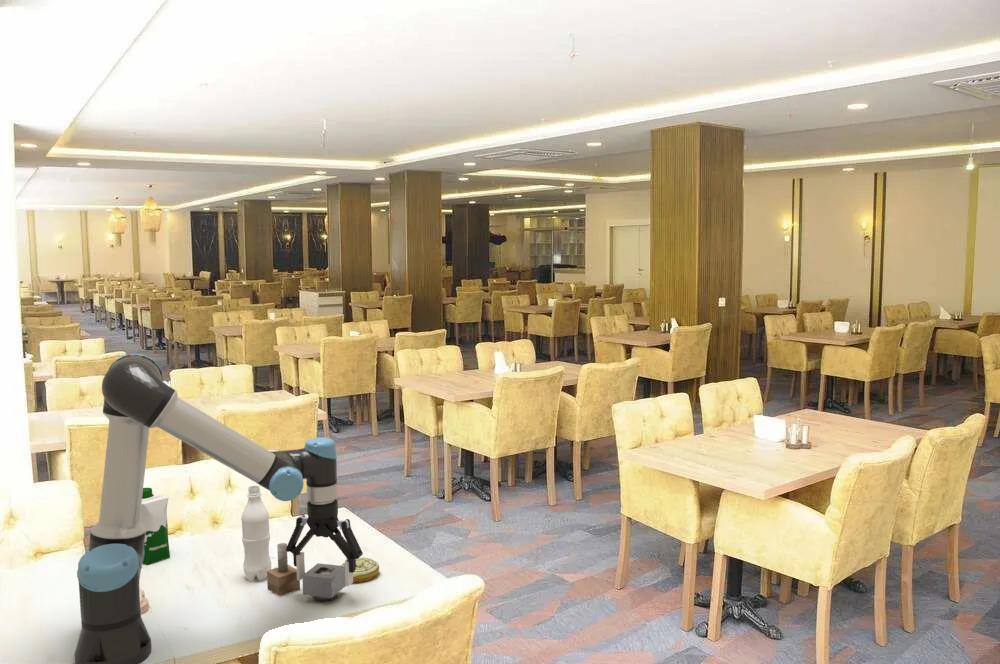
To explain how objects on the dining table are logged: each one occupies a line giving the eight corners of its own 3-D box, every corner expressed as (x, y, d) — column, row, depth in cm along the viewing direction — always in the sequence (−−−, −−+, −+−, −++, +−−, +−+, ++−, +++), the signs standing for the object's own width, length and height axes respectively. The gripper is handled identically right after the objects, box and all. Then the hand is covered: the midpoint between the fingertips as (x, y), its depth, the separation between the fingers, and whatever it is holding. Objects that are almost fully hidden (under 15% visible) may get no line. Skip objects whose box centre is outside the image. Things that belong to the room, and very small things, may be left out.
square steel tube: (346, 585, 208) (346, 566, 207) (331, 598, 200) (331, 578, 200) (318, 581, 210) (317, 563, 209) (303, 594, 202) (302, 575, 202)
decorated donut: (332, 575, 219) (331, 562, 219) (366, 565, 226) (366, 552, 226) (350, 587, 211) (349, 574, 211) (386, 577, 218) (385, 563, 218)
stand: (279, 596, 206) (277, 550, 205) (267, 589, 210) (265, 544, 209) (300, 589, 210) (298, 544, 209) (288, 582, 215) (286, 538, 213)
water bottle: (263, 583, 214) (259, 491, 211) (238, 581, 215) (234, 490, 213) (276, 572, 221) (272, 483, 218) (252, 571, 222) (248, 482, 220)
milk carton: (158, 550, 238) (154, 484, 236) (175, 557, 233) (171, 489, 231) (129, 559, 231) (125, 491, 229) (146, 567, 226) (142, 497, 224)
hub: (321, 604, 201) (320, 579, 200) (308, 597, 205) (308, 572, 205) (342, 597, 205) (341, 572, 205) (329, 590, 209) (328, 566, 209)
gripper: (374, 499, 203) (376, 580, 205) (285, 491, 210) (288, 570, 212) (361, 508, 196) (363, 592, 198) (270, 500, 202) (273, 582, 205)
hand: (325, 581), depth 205 cm, fingers open, 13 cm apart
